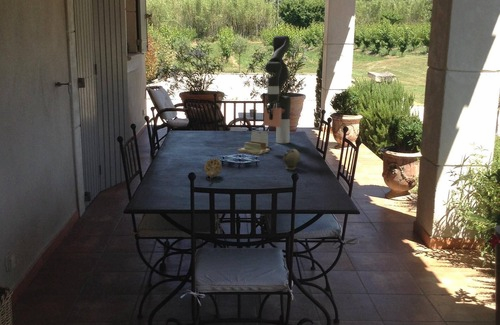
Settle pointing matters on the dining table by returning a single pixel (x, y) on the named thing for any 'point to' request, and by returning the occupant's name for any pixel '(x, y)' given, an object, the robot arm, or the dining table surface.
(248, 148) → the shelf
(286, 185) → the dining table surface
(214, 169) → the pine cone
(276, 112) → the tall salmon pink block
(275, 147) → the dining table surface
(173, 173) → the dining table surface
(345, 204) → the dining table surface
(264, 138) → the ink box
